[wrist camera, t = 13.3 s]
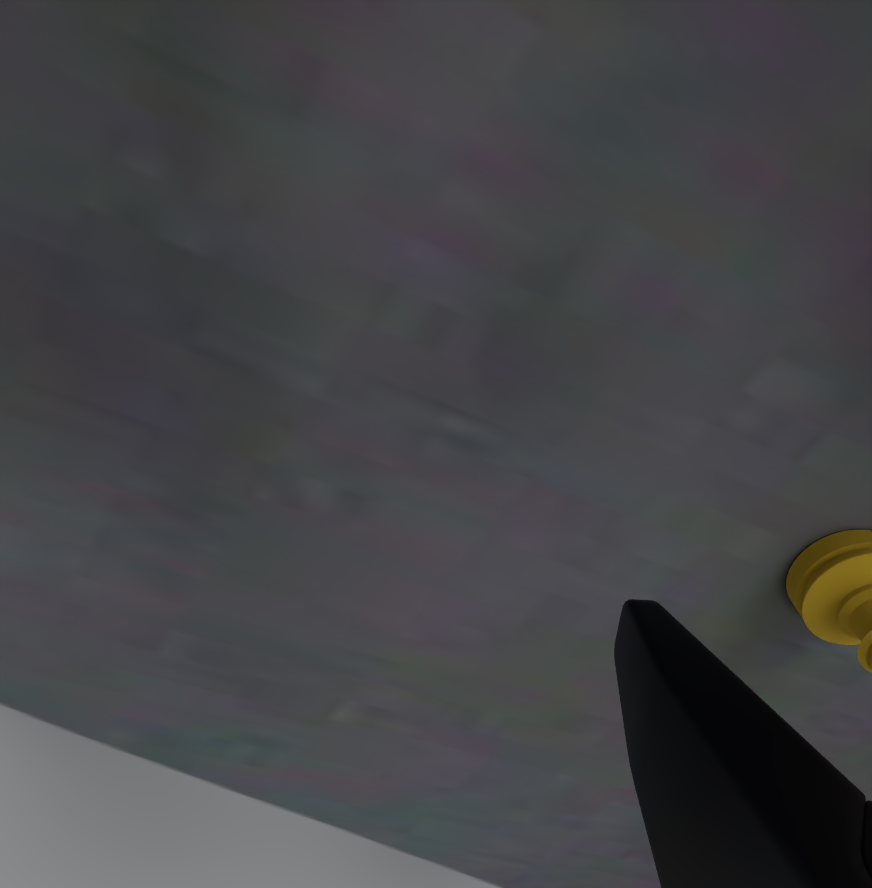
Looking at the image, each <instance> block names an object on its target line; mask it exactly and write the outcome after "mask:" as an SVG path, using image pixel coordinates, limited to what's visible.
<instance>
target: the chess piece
mask: <svg viewBox="0 0 872 888" xmlns="http://www.w3.org/2000/svg"><path fill="white" fill-rule="evenodd" d="M786 589H787V593H788V596H789V598H790V600H791V601H792V603H793V605H794V606H795V608H796V609H797V611H798V612H799V614H800V615H801V617H802V618H803V621H804V622H805V624H806V626H807V627H808V629H809V630H810V631H811V632H812V633H813V634H814V635H816V636H818V637H819V638H821V639H823V640H825V641H828V642H831V643H836V644H841V645H857V644H860V645H859V648H858V660H859V662H860V663H861V665H862V666H863V667H864V668H865V669H866V670H868V671H870V672H872V531H871V530H857V529H855V530H847V531H842V532H838V533H835V534H831V535H829V536H827V537H824V538H822V539H820V540H818V541H817V542H815V543H813V544H812V545H810V546H809V547H808V548H806V549H805V550H804V551H803V552H802V553H801V554H800V555H799V556H798V557H797V558H796V560H795V561H794V562H793V564H792V566H791V568H790V569H789V572H788V575H787V579H786Z"/></svg>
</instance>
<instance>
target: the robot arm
mask: <svg viewBox="0 0 872 888" xmlns="http://www.w3.org/2000/svg"><path fill="white" fill-rule="evenodd" d="M614 657H615V666H616V673H617V680H618V687H619V694H620V701H621V708H622V715H623V722H624V729H625V736H626V743H627V750H628V756H629V762H630V767H631V772H632V776H633V780H634V785H635V789H636V792H637V796H638V800H639V804H640V808H641V812H642V815H643V819H644V823H645V827H646V831H647V835H648V838H649V842H650V846H651V850H652V854H653V858H654V861H655V865H656V869H657V873H658V877H659V881H660V884H661V888H872V801H866V802H865V799H866V798H865V795H864V794H863V793H862V792H861V791H860V790H859V789H858V788H857V787H856V786H855V785H853V784H852V783H851V782H850V781H849V780H848V779H847V778H846V777H845V776H844V775H843V774H842V773H841V772H839V771H838V770H837V769H836V768H835V767H834V766H833V765H832V764H831V763H830V762H829V761H828V760H827V759H826V758H824V757H823V756H822V755H821V754H820V753H819V752H818V751H817V750H816V749H815V748H814V747H813V746H812V745H810V744H809V743H808V742H807V741H806V740H805V739H804V738H803V737H802V736H801V735H800V734H799V733H798V732H797V731H795V730H794V729H793V728H792V727H791V726H790V725H789V724H788V723H787V722H786V721H785V720H784V719H783V718H781V717H780V716H779V715H778V714H777V713H776V712H775V711H774V710H773V709H772V708H771V707H770V706H769V705H768V704H766V703H765V702H764V701H763V700H762V699H761V698H760V697H759V696H758V695H757V694H756V693H755V692H754V691H752V690H751V689H750V688H749V687H748V686H747V685H746V684H745V683H744V682H743V681H742V680H741V679H740V678H739V677H737V676H736V675H735V674H734V673H733V672H732V671H731V670H730V669H729V668H728V667H727V666H726V665H725V664H723V663H722V662H721V661H720V660H719V659H718V658H717V657H716V656H715V655H714V654H713V653H712V652H711V651H709V650H708V649H707V648H706V647H705V646H704V645H703V644H702V643H701V642H700V641H699V640H698V639H697V638H696V637H694V636H693V635H692V634H691V633H690V632H689V631H688V630H687V629H686V628H685V627H684V626H683V625H682V624H680V623H679V622H678V621H677V620H676V619H675V618H674V617H673V616H672V615H671V614H670V613H669V612H668V611H667V610H665V609H664V608H663V607H662V606H661V605H660V604H659V603H657V602H655V601H652V600H634V599H630V600H628V601H626V602H625V603H624V605H623V608H622V612H621V617H620V622H619V626H618V631H617V636H616V640H615V648H614Z"/></svg>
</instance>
